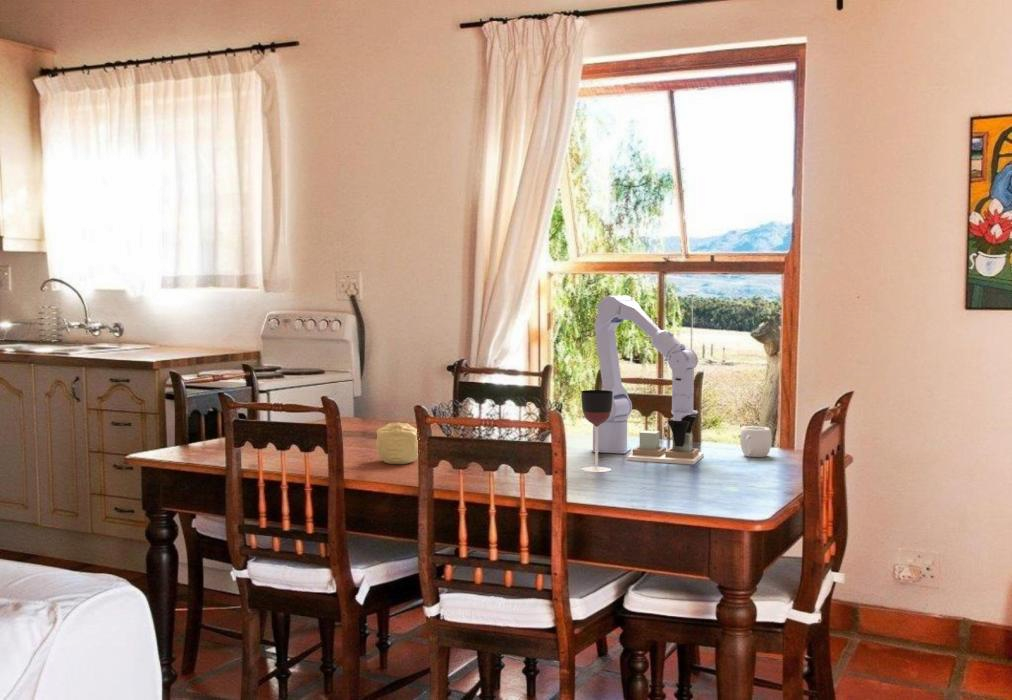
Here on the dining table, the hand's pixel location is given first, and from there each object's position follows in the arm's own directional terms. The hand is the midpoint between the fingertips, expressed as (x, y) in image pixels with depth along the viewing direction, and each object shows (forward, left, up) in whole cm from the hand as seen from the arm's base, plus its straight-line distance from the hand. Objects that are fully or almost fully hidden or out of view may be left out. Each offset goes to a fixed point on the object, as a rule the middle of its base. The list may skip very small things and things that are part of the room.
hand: (682, 444), depth 282 cm
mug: (+18, +11, -4) cm, 21 cm away
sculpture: (-69, -32, -4) cm, 77 cm away
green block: (0, 0, -3) cm, 3 cm away
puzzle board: (-4, 0, -4) cm, 6 cm away
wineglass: (-17, -23, -4) cm, 29 cm away
